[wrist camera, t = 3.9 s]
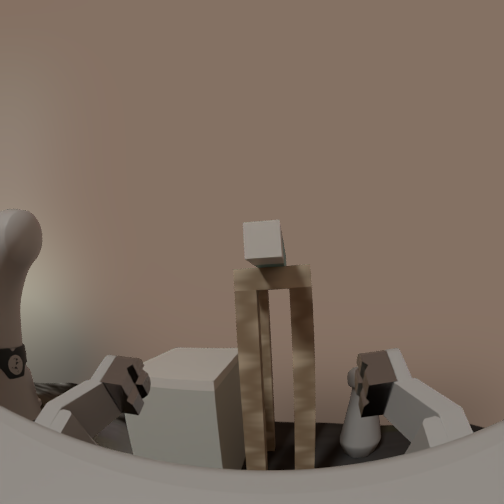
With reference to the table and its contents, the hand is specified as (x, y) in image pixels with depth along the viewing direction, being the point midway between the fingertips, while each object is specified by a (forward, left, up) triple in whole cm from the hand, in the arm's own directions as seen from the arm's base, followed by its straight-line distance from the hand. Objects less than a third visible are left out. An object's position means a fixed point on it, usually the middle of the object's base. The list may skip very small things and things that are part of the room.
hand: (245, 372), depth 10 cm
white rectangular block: (-10, +23, -21) cm, 32 cm away
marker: (0, +19, +5) cm, 19 cm away
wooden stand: (0, +24, -21) cm, 31 cm away
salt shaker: (+11, +27, -21) cm, 36 cm away
